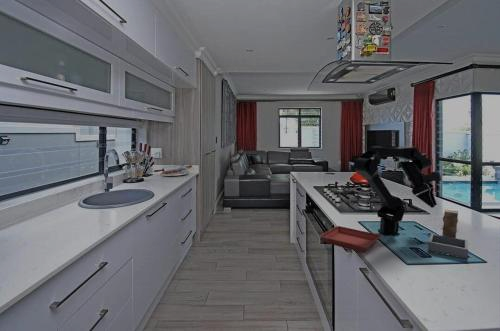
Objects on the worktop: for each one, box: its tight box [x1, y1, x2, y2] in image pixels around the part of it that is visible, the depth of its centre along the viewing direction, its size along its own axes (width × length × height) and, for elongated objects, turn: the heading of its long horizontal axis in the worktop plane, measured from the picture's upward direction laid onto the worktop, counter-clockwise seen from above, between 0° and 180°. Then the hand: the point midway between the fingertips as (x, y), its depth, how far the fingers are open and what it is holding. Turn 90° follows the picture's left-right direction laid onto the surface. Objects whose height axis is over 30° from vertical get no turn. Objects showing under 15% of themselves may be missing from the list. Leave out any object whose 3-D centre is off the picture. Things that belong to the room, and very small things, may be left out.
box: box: [427, 233, 469, 260], centre depth 108 cm, size 12×12×4 cm
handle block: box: [442, 209, 459, 238], centre depth 118 cm, size 4×4×12 cm
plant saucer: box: [319, 225, 382, 253], centre depth 114 cm, size 18×18×3 cm
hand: (434, 206), depth 122 cm, fingers open, 9 cm apart
